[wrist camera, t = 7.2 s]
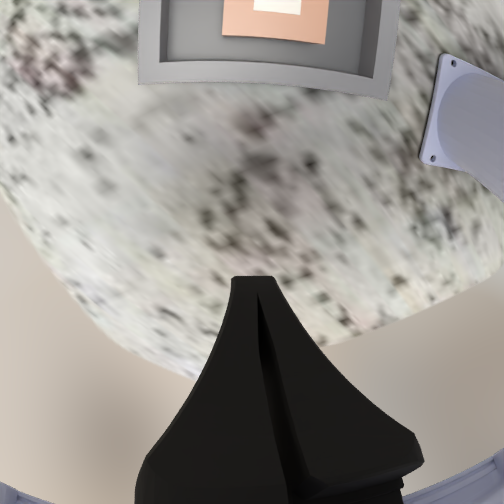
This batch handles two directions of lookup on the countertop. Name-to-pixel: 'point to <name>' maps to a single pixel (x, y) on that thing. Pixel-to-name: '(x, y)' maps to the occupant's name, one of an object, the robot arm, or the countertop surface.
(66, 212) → the countertop surface
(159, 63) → the grey compartment tray
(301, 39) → the key terracotta
